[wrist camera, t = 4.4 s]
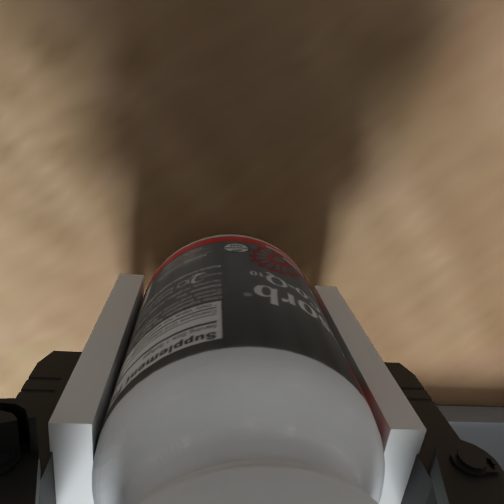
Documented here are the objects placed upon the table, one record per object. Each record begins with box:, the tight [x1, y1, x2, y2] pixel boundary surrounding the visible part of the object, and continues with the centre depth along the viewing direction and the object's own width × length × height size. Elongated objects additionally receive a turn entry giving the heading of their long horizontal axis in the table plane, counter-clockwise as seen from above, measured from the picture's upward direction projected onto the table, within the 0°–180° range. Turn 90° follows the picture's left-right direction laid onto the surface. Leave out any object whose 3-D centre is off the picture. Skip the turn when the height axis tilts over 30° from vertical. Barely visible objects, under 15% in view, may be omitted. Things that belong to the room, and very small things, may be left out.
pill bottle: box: [92, 234, 385, 504], centre depth 10 cm, size 6×6×10 cm
